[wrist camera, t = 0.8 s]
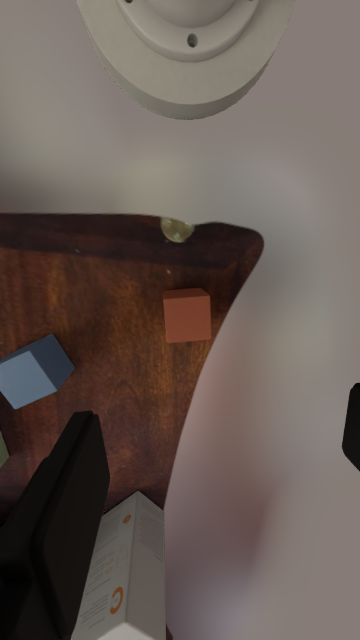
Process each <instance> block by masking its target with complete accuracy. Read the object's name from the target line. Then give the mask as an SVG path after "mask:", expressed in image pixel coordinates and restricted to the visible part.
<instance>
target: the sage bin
mask: <svg viewBox="0 0 360 640" xmlns="http://www.w3.org/2000/svg"><path fill="white" fill-rule="evenodd" d="M8 458H9V454H8V451H7V448H6V445H5V442H4V439H3V436H2V433H1V430H0V468H1V467H2V465H3V464H4V463H5V462H6V460H7V459H8Z"/></svg>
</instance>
